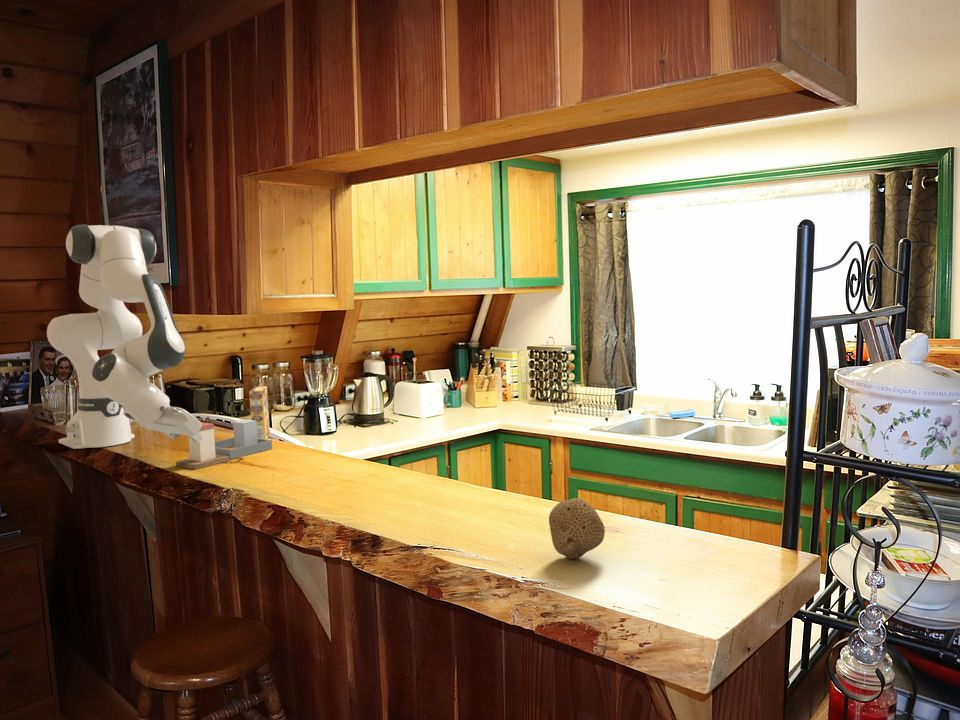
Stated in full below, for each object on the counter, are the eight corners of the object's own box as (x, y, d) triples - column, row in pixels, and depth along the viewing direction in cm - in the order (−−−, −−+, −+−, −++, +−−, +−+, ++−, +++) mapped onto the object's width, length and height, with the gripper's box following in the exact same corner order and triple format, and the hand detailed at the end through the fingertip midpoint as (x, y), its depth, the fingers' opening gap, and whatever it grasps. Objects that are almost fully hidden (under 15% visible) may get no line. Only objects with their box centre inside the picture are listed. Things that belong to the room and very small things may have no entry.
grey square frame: (199, 454, 212) (199, 445, 212) (241, 444, 224) (240, 435, 224) (230, 459, 205) (230, 450, 205) (272, 448, 217) (271, 440, 216)
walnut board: (176, 466, 199) (175, 461, 199) (210, 457, 208) (210, 453, 207) (195, 469, 194) (195, 464, 194) (229, 460, 203) (229, 456, 203)
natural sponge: (606, 550, 130) (605, 492, 129) (603, 570, 121) (603, 508, 120) (552, 548, 132) (551, 491, 131) (545, 567, 123) (545, 506, 122)
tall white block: (234, 449, 217) (233, 421, 216) (247, 446, 220) (246, 419, 220) (245, 451, 214) (243, 423, 213) (258, 448, 218) (256, 420, 217)
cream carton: (189, 459, 200) (187, 425, 199) (204, 456, 204) (202, 422, 203) (200, 461, 198) (198, 426, 197) (215, 458, 202) (213, 423, 201)
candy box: (266, 441, 228) (263, 390, 226) (251, 442, 227) (248, 390, 225) (270, 435, 236) (267, 386, 235) (256, 436, 236) (253, 386, 234)
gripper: (184, 398, 183) (220, 431, 192) (133, 393, 195) (170, 425, 204) (168, 419, 180) (206, 452, 189) (118, 413, 191) (156, 444, 201)
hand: (187, 438), depth 197 cm, fingers open, 8 cm apart
